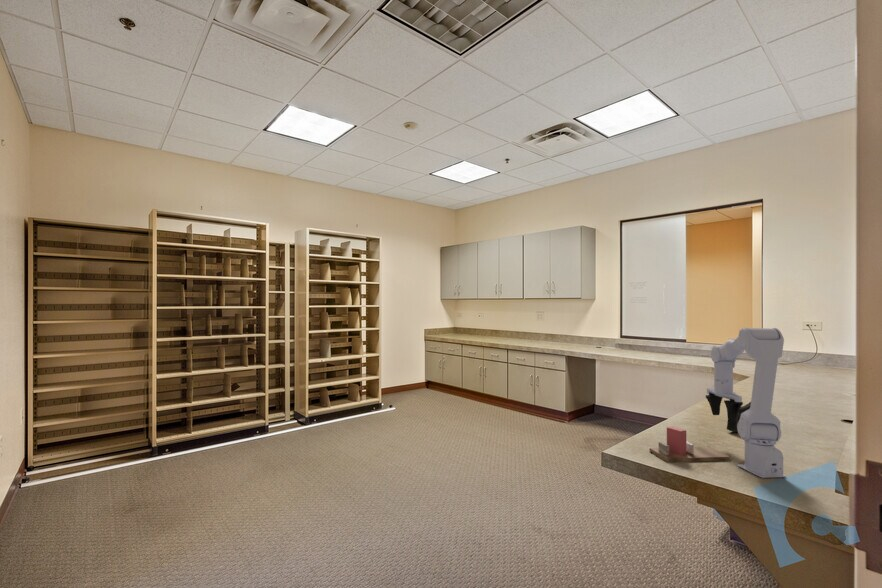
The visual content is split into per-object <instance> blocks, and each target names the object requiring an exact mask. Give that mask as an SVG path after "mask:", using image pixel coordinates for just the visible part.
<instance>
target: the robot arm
mask: <svg viewBox="0 0 882 588" xmlns="http://www.w3.org/2000/svg"><path fill="white" fill-rule="evenodd" d="M784 343H785V339H784V336H783V333H782V331H781V330H780V329H778V328H777V327H773V328H765V327H764V328H761V327H759V328H758V327H757V328H755V327H742V328H741V329H740V330H739V332H738V336H737V337H736V338H728V340H727V341H725V342H723V343H722V344H721V345H720V346H716V345H714V346H712V347H711V350H710V356H711V357H710V358H711V361H712V362H713V385H714V386H713V388H712V387H710V388H706V395H705V399H707V402H708V404H709V408H710V409H711V413H712V416H720V413H721V404H722V401H723V402H724V405H725V407H726V412H727V421H728V420H729V421H735V419H736V416H737V413H738V411H739V409H740V407H742V406H744V402H743V396H741V395H739V394H736V392H735V391H734V368H735V367H736V366H735V365H736V362H737V361H736V360H737V357H739V356H740V355H742V354H743V353H744V352H745V353H746V354H747V356H748V357H750V358H752V359H754V360H755V368H754V375H753V376H754V377H753V382H752V383H753V384H752V391H751V399H750V402H751V406H750V409H748V410H747V411H745V412H743V413H741V416H740V420H739V422H738V424H737V430H738V431H737V433H738V435H739V436H740V438H741V439H742V440H744V464H743V463H741V464H737V467H739V468H741V469H742V470H745V471H747V472H749V473H751V474H753V475H755V476H758V477H760V478H764V479H765V478H767V479H769V478H786V477H787V475H786V474H784V455H783V452H782V451H781V450H780V449H779V448H777V447H776V446H775V445H777V442H779V440H780V439H781V437H782V429H781V420H780V419H779V418H778V416H777V415H776V414H775V415H774V414H773V413H772V408H773V400H774V392H775V384H776V377H777V372H778V371H777V370H778V362H779V359H780V358H781V357H783V356H782V355H783V351H784ZM723 399H724V400H723ZM725 399H726V400H725Z"/></svg>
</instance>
